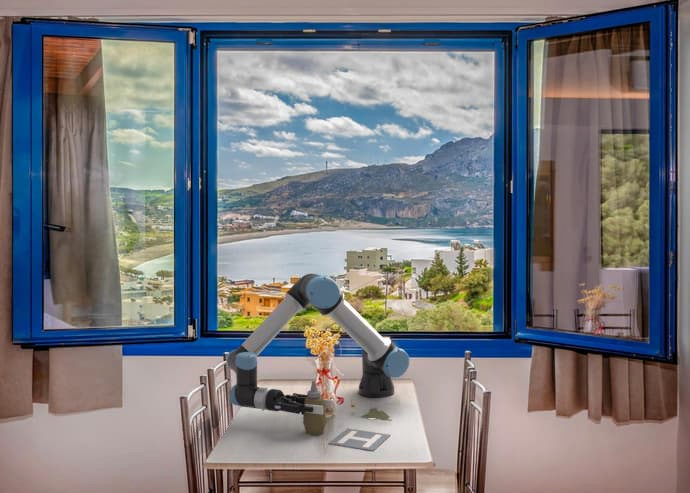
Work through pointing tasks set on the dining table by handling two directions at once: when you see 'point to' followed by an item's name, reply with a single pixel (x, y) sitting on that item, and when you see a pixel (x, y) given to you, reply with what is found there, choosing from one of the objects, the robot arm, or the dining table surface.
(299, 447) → the dining table surface
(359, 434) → the pad
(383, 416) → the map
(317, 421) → the squeeze bottle
